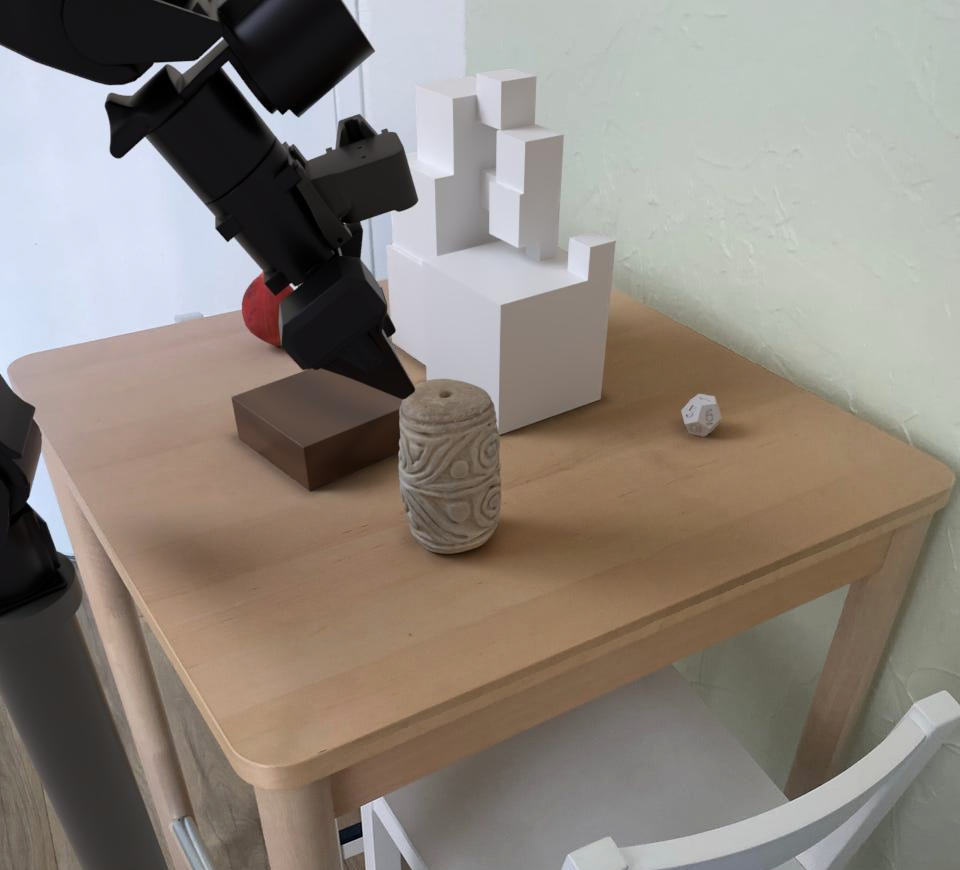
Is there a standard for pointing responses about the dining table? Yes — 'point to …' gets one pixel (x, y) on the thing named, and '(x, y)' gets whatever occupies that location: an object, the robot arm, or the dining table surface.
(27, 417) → the robot arm
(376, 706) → the dining table surface
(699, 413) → the game die
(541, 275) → the building blocks
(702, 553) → the dining table surface
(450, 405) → the carving
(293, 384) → the walnut block
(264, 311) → the onion
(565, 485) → the dining table surface
